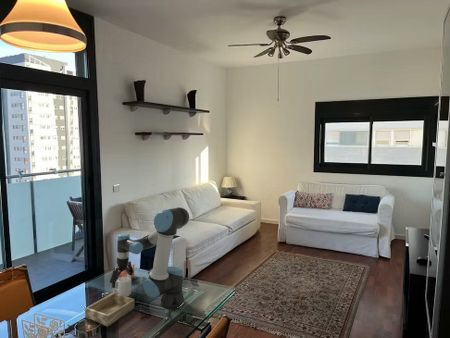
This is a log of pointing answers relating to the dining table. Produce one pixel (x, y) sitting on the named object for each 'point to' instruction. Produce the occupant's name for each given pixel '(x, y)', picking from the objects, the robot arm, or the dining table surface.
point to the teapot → (124, 273)
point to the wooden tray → (109, 309)
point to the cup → (124, 286)
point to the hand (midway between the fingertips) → (121, 287)
